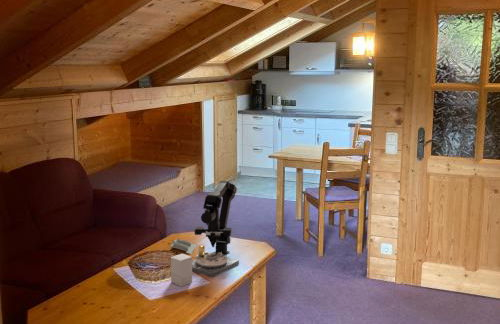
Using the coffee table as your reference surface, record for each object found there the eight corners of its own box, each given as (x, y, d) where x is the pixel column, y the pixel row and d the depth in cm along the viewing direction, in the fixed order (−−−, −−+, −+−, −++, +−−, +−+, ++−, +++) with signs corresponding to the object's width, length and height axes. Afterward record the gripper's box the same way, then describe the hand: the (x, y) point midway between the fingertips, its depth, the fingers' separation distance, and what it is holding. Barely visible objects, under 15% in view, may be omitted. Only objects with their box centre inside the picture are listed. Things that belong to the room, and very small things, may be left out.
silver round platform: (233, 260, 274) (233, 247, 273) (214, 270, 261) (214, 256, 260) (208, 254, 283) (208, 241, 282) (189, 263, 270) (189, 249, 269)
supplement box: (192, 282, 252) (192, 256, 250) (180, 286, 247) (180, 260, 245) (182, 277, 257) (182, 252, 255) (170, 282, 252) (170, 256, 250)
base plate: (210, 256, 287) (210, 252, 287) (238, 263, 277) (238, 259, 276) (182, 268, 269) (182, 264, 269) (212, 277, 259) (212, 272, 258)
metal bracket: (169, 243, 290) (175, 235, 304) (166, 253, 291) (173, 244, 306) (194, 251, 289) (199, 243, 304) (191, 261, 290) (196, 252, 305)
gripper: (232, 214, 282) (232, 242, 285) (198, 213, 284) (198, 241, 286) (230, 220, 271) (230, 249, 274) (194, 219, 273) (194, 248, 275)
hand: (213, 247), depth 278 cm, fingers closed
